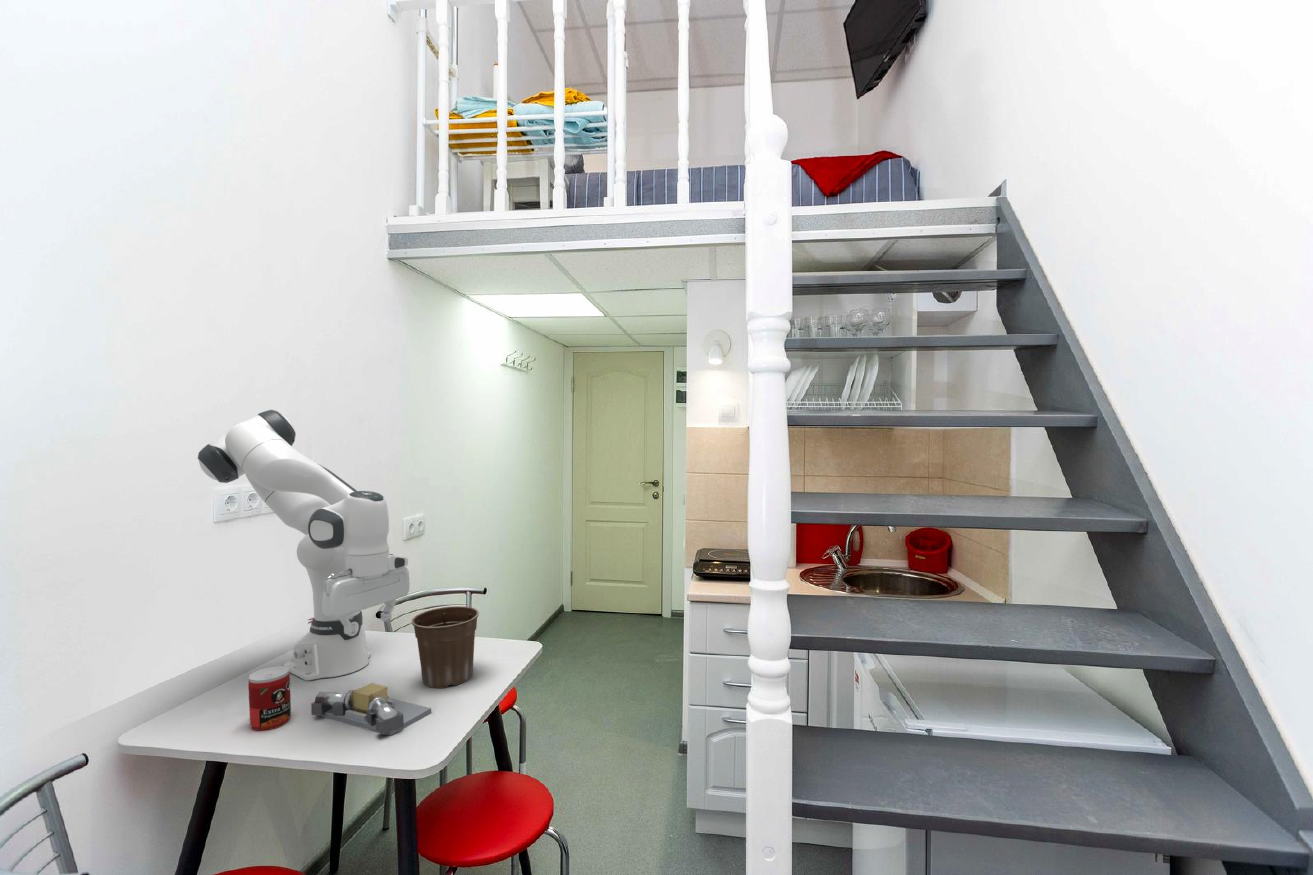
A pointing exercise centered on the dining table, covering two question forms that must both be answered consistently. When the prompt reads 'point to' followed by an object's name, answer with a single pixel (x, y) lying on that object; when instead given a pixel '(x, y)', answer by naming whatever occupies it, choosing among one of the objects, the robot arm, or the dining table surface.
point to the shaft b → (383, 715)
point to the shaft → (332, 703)
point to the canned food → (269, 698)
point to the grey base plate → (407, 709)
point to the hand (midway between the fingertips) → (368, 626)
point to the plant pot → (446, 644)
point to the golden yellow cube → (368, 696)
